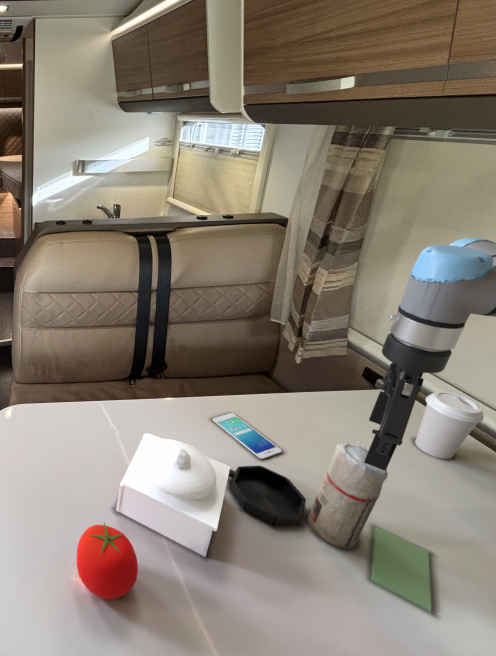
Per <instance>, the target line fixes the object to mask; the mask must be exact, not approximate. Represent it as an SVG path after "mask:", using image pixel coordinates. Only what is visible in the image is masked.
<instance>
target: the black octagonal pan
mask: <svg viewBox="0 0 496 656" xmlns="http://www.w3.org/2000/svg"><path fill="white" fill-rule="evenodd" d="M228 478H231V481H230V485H229V487H228V488H229V491H230V492H231V494H232V495H233V497H234V499H235V500H236V501H237V503H238V504H239V506H240V507H241V509H242V510H243V511H244V512H246V513H247V514H249V515H251V516H253V517H255V518H256V519H259V520H260V521H262V522H265V523H266V524H268V525H270V526H273V527H284V526H286V527H287V526H288V527H289V526H298V525H300V523H301V520H302V518H303V514H304V510H305V506H306V501H307V499H306V497H305V496H304V495H303V494H302V493H301V492H300V490H299V489H298V487H296V486H295V484H294V483H293V482H292V481H291V479H289V478H288V477H286V476H284V475H282V474H280V473H278V472H275V470H272V469H269V468H267V467H265V466H263V465H243V466H242V465H241V466H237V467H236V470H233V469H231V468H230V470H229V475H228Z"/></svg>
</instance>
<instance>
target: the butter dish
mask: <svg viewBox="0 0 496 656" xmlns="http://www.w3.org/2000/svg"><path fill="white" fill-rule="evenodd" d="M132 457H133V458H132V459H131V462H130V464H129V465H128V468H127V470H126V472H125V474H124V476H123V478H122V480H121V482H120V484H119V488H118V495H117V503H116V510H115V511H116V512H118V513H120V514H121V515H123V516H125V517H127V518H130V519H131V520H133V521H135V522H137V523H139V524H141V525H142V526H145V527H147V528H149V529H151V530H152V531H154V532H156V533H159V534H161V535H162V536H164V537H166V538H168V539H170V540H171V541H174V542H176V543H177V544H179V545H181V546H183V547H186V548H187V549H188V550H191V551H193V552H195V553H197V554H199V555H200V556H202V557H204V558H206V557H207V553H208V549H209V546H210V542H211V539H212V535H213V532H217V531H218V526H219V521H220V517H221V514H222V513H221V512H222V508H223V503H224V498H225V494H226V490H227V485H228V479H229V476H228V475H229V470H230V469H231V466H230V465H227V464H225V463H223V462H220V461H218V460H216V459H213V458H210V457H208V456H206V455H204V454H203V453H202V452H200V451H199V450H198V449H196V448H195V447H193V446H192V445H189V444H188V443H185V442H183V441H179V440H176V439H172V438H161V437H159V436H156V435H153V434H152V433H149V432H146V433H143V436H142V439H141V441H140V443H139V445H138V448H137V449H136V451H135V453H134V455H133V456H132Z"/></svg>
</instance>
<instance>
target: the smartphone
mask: <svg viewBox="0 0 496 656" xmlns="http://www.w3.org/2000/svg"><path fill="white" fill-rule="evenodd" d="M212 422H213V423H214V424H216V425H217V426H218V427H219V428H221V429H222V430H223V431H224V432H226V434H228V435H229V436H230V437H232V438H233V439H234V440H235V441H236V442H238V443H239V444H240V445H241V446H242V447H243V448H244V449H246V450H247V451H248V452H250V453H251V454H252V455H253V456H255V457H256V458H257V459H259V460H260V461H263V460H264V461H265V460H266V459H269V458H272V457H274V456H277V455H281V454H282V451H283V450H282V449H281V448H280V447H279V446H277V445H276V444H274V443H273V442H272V441H270V440H269V439H268V438H267V437H265V436H264V435H263V434H262V433H260V432H259V431H257V430H256V429H255V428H254V427H252V426H251V425H250V424H248V423H247V422H246V421H245V420H243V419H242V418H240V417H239V416H238V415H236V414H235V413H233V412H228V413H226V414H222V415H220V416H216V417H213V418H212Z"/></svg>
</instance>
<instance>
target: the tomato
mask: <svg viewBox="0 0 496 656" xmlns="http://www.w3.org/2000/svg"><path fill="white" fill-rule="evenodd" d="M133 546H134V545H133V544H132V543H131V541H130V539H129V538H128V537H127V536H126V534H125V533H124V532H121V531H120V530H118V529H117V528H115V527H112V526H109V525H106V524H105V522H103V524H93V525H91V526H89V527H88V528H87V529H85V530H84V532H83V533H82V535H81V536H80V537H79V539H78V544H77V546H76V547H77V548H76V568H77V572H78V576H79V578H80V580H81V582H82V583H83V585H84V586H85V589H87V590H88V591H89V592H90V593H92V595H94V596H96V597H98V598H100V599H104V600H115V599H119V598H121V597H123V596H125V595H126V594H127V593H128V592H130V591H131V590H132V588H133V587H134V585H135V584H136V582H137V579H138V572H139V565H138V558H137V554H136V551H135V549H134V547H133Z"/></svg>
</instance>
